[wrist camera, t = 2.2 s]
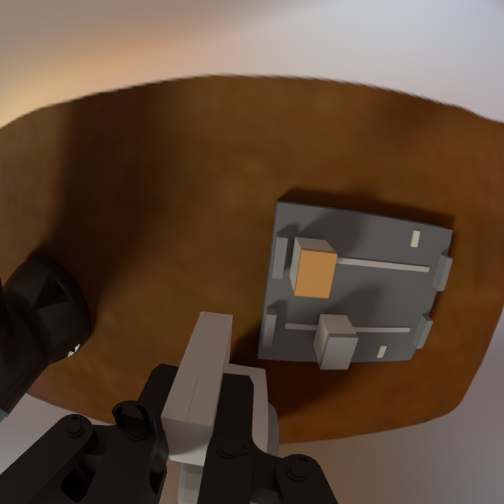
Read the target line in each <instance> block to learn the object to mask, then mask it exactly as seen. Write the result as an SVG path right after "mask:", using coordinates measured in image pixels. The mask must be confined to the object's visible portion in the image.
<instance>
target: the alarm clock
mask: <svg viewBox="0 0 504 504" xmlns="http://www.w3.org/2000/svg"><path fill="white" fill-rule="evenodd" d="M227 373H230V374H239V375H249V376H250V378H251V380H252V382H253V384H254V401H253V425H252V437H253V441H254V443H255V444H256V446H257V447H258V448H259V449H261V450H262V451H263V452H265V453H268V454H270V455H274V456H277V457H278V451H279V427H278V418H277V414H276V410H275V408H274V407H273V406H272V405H271V404H270V403H268V397H267V382H266V372H265V369H260V368H254V367H247V366H241V365H235V364H229V365H228V371H227ZM203 467H204V466H201V465H194V464H189V463H183V462H182V466H181V473H180V480H179V491H178V504H197V500H198V495H199V489H200V484H201V478H202V473H203ZM250 504H256V503H253V502H250Z"/></svg>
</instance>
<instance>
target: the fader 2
mask: <svg viewBox="0 0 504 504" xmlns="http://www.w3.org/2000/svg"><path fill="white" fill-rule="evenodd" d="M357 341H358V336H357V334H356V332H355V330H354V328H353V327H352V325H351V323H350V321H349V319H348V317H347V315H330V314H320V319H319V323H318V327H317V331H316V335H315V339H314V343H313V345H314V349H315V353H316V356H317V360H318V364H319V367H320V369H348V367H349V364H350V361H351V358H352V356H353V353H354V350H355V347H356V344H357Z"/></svg>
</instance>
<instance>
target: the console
mask: <svg viewBox="0 0 504 504" xmlns="http://www.w3.org/2000/svg"><path fill="white" fill-rule="evenodd" d="M452 232H453V230H451V229H448V228H446V227H443V226H438V225H434V224H429V223H423V222H418V221H413V220H408V219H402V218H397V217H391V216H385V215H379V214H373V213H367V212H361V211H355V210H348V209H341V208H334V207H327V206H320V205H312V204H305V203H297V202H288V201H280V200H276V208H275V217H274V226H273V234H272V242H271V251H270V259H269V267H268V275H267V283H266V290H265V298H264V306H263V313H262V321H261V328H260V335H259V343H258V358H257V359H267V360H282V361H302V362H318V360H317V356H316V353H315V349H314V345H313V343H314V339H315V335H316V331H317V327H318V323H319V319H320V314H330V315H347V317H348V319H349V321H350V323H351V325H352V327H353V328H354V330H355V332H356V334H357V336H358V341H357V344H356V347H355V350H354V353H353V356H352V358H351V361H350V362H382V361H401V360H411V358H412V356H413V354H414V351H415V349H416V348H423V345H424V343H425V341H426V338H427V336H428V333H429V331H430V328H431V326H432V323H433V320H432V319H431V318H430V317H429V314H430V311H431V308H432V305H433V302H434V299H435V296H436V293H437V290H438V291H444V289H445V285H446V282H447V279H448V275H449V272H450V268H451V264H452V261H453V258H451V257H449V256H448V255H447V254H448V250H449V246H450V241H451V237H452ZM295 237H302V238H311V239H319V240H326V241H327V242H328V244H329V245H330V246H331V247H332V248H333V249H334V250H335V252H336V253H337V260H336V265H335V270H334V275H333V280H332V284H331V289H330V294H329V298H318V297H305V296H295V295H294V291H293V288H292V284H291V280H290V269H291V263H292V256H293V249H294V242H295Z"/></svg>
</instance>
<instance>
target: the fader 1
mask: <svg viewBox="0 0 504 504" xmlns="http://www.w3.org/2000/svg"><path fill="white" fill-rule="evenodd" d="M336 260H337V253H336V252H335V250H334V249H333V248H332V247H331V246H330V245H329V244H328V242H327V241H326V240H319V239H311V238H302V237H295V242H294V249H293V256H292V263H291V269H290V280H291V284H292V288H293V291H294V295H295V296H305V297H318V298H329V294H330V289H331V284H332V280H333V275H334V270H335V265H336Z"/></svg>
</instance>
